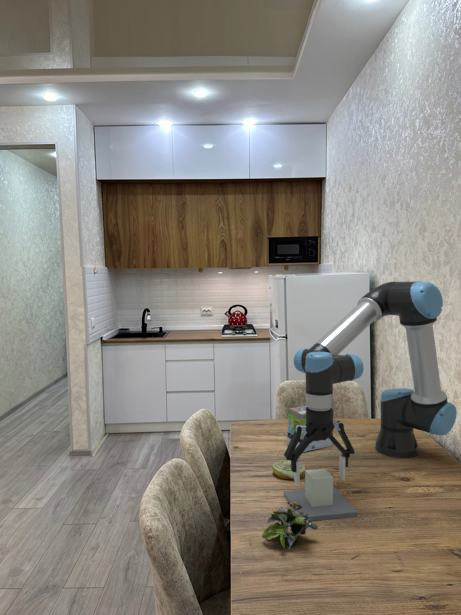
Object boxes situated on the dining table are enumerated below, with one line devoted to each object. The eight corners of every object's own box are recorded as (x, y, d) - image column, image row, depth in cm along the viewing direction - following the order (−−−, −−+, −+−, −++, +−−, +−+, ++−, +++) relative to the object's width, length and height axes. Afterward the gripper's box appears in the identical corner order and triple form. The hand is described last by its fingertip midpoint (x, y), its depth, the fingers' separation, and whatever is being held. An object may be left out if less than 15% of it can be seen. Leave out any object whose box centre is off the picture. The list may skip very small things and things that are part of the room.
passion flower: (294, 556, 119) (322, 518, 119) (291, 574, 108) (321, 532, 108) (259, 525, 122) (286, 488, 122) (252, 540, 111) (282, 499, 111)
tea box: (303, 453, 174) (303, 414, 173) (286, 445, 183) (286, 408, 182) (333, 446, 182) (334, 408, 181) (316, 438, 190) (316, 402, 189)
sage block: (324, 495, 138) (325, 468, 137) (332, 505, 132) (333, 477, 131) (305, 497, 137) (305, 470, 136) (312, 506, 131) (312, 478, 130)
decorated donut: (296, 484, 148) (296, 472, 148) (267, 476, 154) (267, 465, 154) (310, 473, 157) (310, 461, 157) (281, 466, 163) (281, 455, 163)
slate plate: (334, 490, 144) (334, 486, 144) (357, 516, 128) (357, 511, 128) (283, 494, 141) (283, 490, 141) (300, 521, 125) (300, 517, 125)
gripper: (354, 400, 139) (355, 470, 140) (272, 406, 134) (273, 478, 136) (366, 407, 131) (366, 481, 133) (280, 414, 127) (281, 490, 128)
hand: (319, 480), depth 134 cm, fingers open, 13 cm apart
